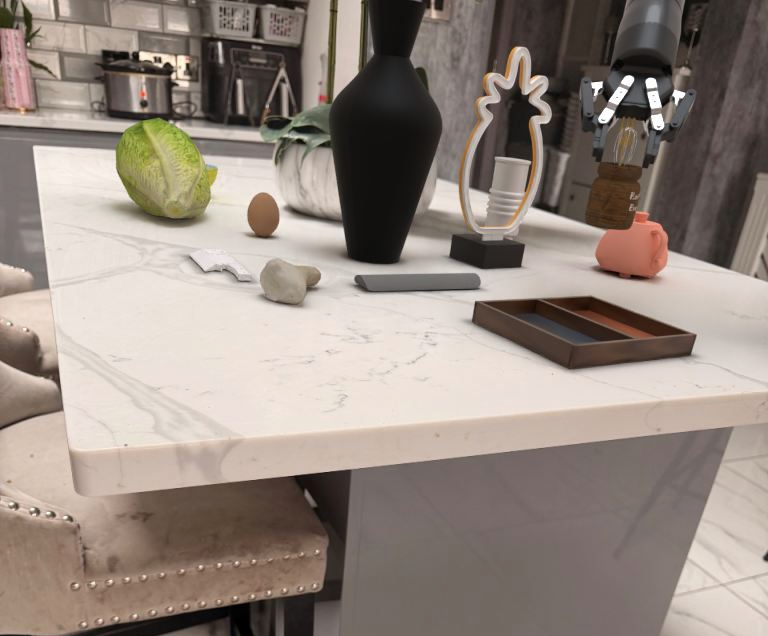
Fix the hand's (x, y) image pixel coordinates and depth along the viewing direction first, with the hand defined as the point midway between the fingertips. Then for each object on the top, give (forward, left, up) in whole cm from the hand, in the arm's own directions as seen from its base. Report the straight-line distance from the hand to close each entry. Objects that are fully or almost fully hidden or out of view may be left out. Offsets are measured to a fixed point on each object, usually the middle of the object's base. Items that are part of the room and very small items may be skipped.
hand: (622, 159), depth 89 cm
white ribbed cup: (-26, -51, -20) cm, 61 cm away
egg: (+21, -57, -20) cm, 64 cm away
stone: (+32, -20, -20) cm, 42 cm away
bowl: (+20, -98, -20) cm, 102 cm away
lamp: (-11, -36, -20) cm, 43 cm away
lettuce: (+32, -75, -20) cm, 84 cm away
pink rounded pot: (-35, -25, -20) cm, 48 cm away
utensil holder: (-1, -1, -8) cm, 8 cm away
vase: (+9, -40, -20) cm, 46 cm away
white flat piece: (+37, -35, -20) cm, 54 cm away
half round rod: (+12, -22, -20) cm, 32 cm away
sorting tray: (+4, +4, -20) cm, 21 cm away
